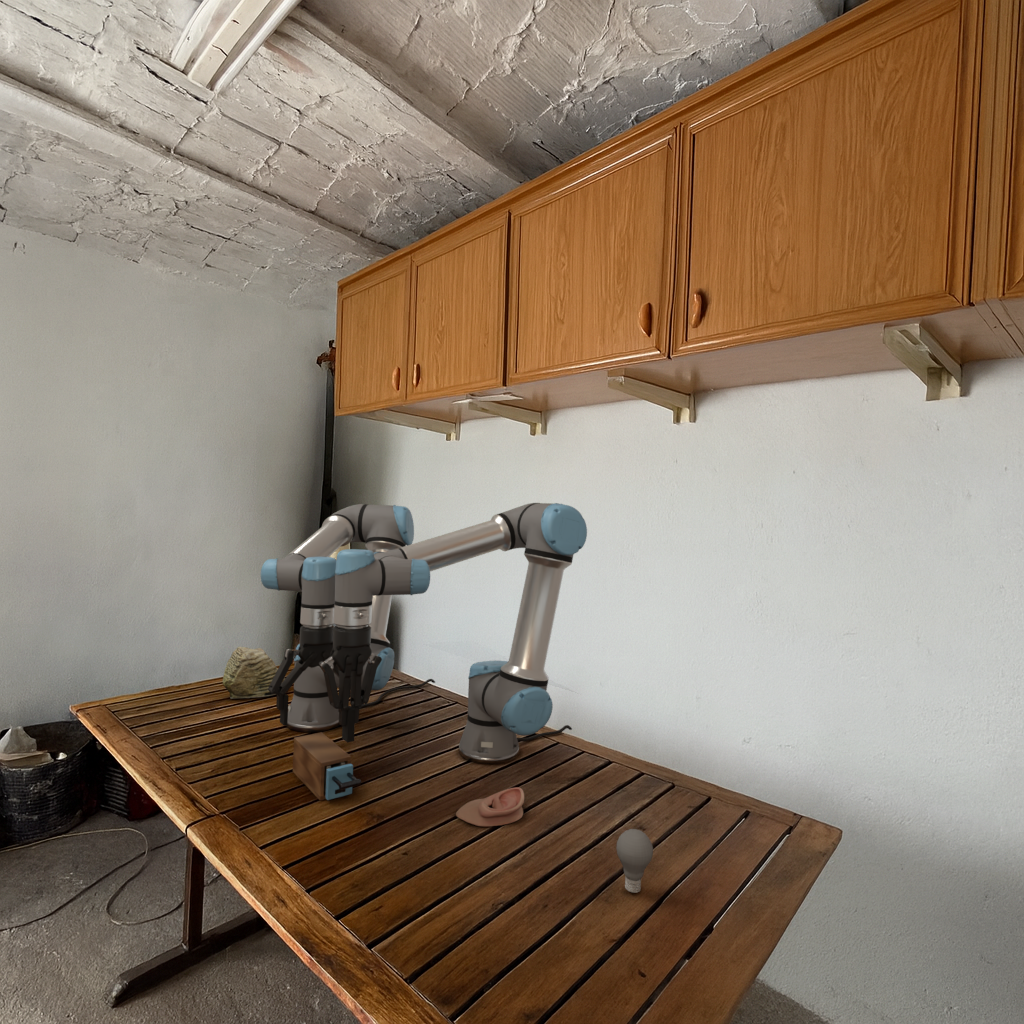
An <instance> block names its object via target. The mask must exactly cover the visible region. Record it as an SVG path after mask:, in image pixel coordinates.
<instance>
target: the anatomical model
mask: <svg viewBox="0 0 1024 1024" xmlns="http://www.w3.org/2000/svg"><path fill="white" fill-rule="evenodd" d="M524 803H525V792H524V790H523V789H522V788H521V787H518V786H517V787H511V788H507V789H504V790H501V791H498V792H495V793H493V794H491V795H489V796H487V797H484V798H479V799H478V798H477V799H474V800H473V799H472V800H471V801H468V802H467V803H465V804H463V805H462V806H461V807H459V808H458V810H457V811H456V813H455V817H457V818H458V819H460V820H461V821H464V822H466V823H468V824H471V825H473V826H474V825H475V826H476V827H497V826H503V825H508V824H511V823H515V822H517V821H519V820H520V819H521V818H522V817H523V816H524V808H523V806H524Z"/></svg>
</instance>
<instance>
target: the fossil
mask: <svg viewBox="0 0 1024 1024" xmlns="http://www.w3.org/2000/svg"><path fill="white" fill-rule="evenodd" d="M278 668H279V667H277V665H276V663H275V662H274V660H273V659H272V658H271V657H270V656H269V655H268V654H267V653H266V652H265V650H264V649H263V648H260V647H258V648H251V647H247V646H246V647H245V646H238V647H237V648H236V649H235V650H233V651H232V653H231V656H230V657H229V659H228V660H227V663H226V666H225V668H224V671H223V675H222V676H223V677H222V685H223V687H224V688H225V690H226V691H228V693H229V698H230V699H250V698H264V697H271V696H275V695H276V694H272V693H271V692H269V691H268V688H269V686H270V684H271V682H272V680H273V678H274V676H275V674H276V672H277V670H278ZM285 678H286V676H285V677H284V679H283V681H284V680H285ZM283 681H282V682H283ZM276 696H277V695H276Z"/></svg>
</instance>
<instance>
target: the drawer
mask: <svg viewBox="0 0 1024 1024" xmlns="http://www.w3.org/2000/svg"><path fill="white" fill-rule="evenodd" d="M361 785H362V780H361V778H357V777H356V776H354V765H353V764H352V763H351V764H346V765H345V762H340V763H335V764H331V765H327V766H325V775H324V791H325V792H326V799H325V800H327V801H330V800H333V799H337V798H342V797H345V796H348V795H352V794H353V788H354V787H357V786H361Z"/></svg>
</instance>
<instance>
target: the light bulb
mask: <svg viewBox="0 0 1024 1024" xmlns="http://www.w3.org/2000/svg"><path fill="white" fill-rule="evenodd" d="M615 849H616V854H617V857H618V859H619V861H620V863H621V865H622V867H623V873H624V874H623V875H624V876H625V878H624V888H625V890H627V891H628V892H630V893H634V894H635V893H639V892H640V891H641V889H642V887H641V886H642V879H643V877H644V875H645V871H646V868H647V867H648V866H649V864H650V863H651V861H652V859H653V855H654V847H653V843H652V841H651V838H649V836H648V835H647V834H646V833H645V832H643V831H642V830H641V829H636V828H629V829H627V830H625V831H623V832H622V833H621V834H620V835H619V837H618V839H617V841H616V847H615Z"/></svg>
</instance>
